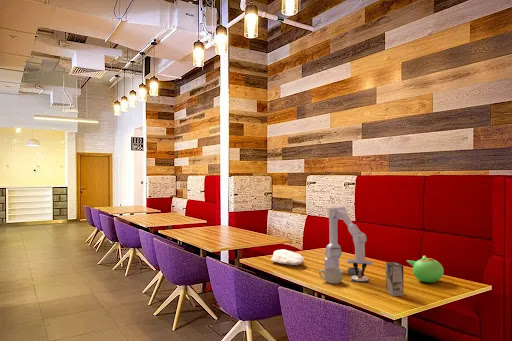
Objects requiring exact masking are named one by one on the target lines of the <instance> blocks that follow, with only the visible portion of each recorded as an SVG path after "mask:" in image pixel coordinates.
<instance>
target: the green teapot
mask: <svg viewBox="0 0 512 341" xmlns="http://www.w3.org/2000/svg"><path fill="white" fill-rule="evenodd" d="M406 263H408V264H409V265H411V266H412V274H413V275H414V277H415V278H416V279H417V280H419V281H421V282H423V283H435V282H438V281H440V280H441V279H442V278H443V276H444V271H445V270H444V267H443V265H442V264H441V263H440V262H439V261H437V260H436V259H434V258H431V257H430V258H428V257H427V256H426V255H423V256H422V258H420V259H417V260H416V261H415V260H410V259H409V260H408V259H407V260H406Z"/></svg>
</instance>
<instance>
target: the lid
mask: <svg viewBox="0 0 512 341" xmlns="http://www.w3.org/2000/svg"><path fill="white" fill-rule="evenodd" d="M352 279H353V280H356V281H368V280H369V281H370V278H369V277H368V276H366V275H364V276H363V277H362V269H361V270H358V276H356V275H355V276H354V275H351V280H352Z"/></svg>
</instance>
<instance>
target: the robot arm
mask: <svg viewBox="0 0 512 341" xmlns="http://www.w3.org/2000/svg"><path fill="white" fill-rule="evenodd" d="M340 219H342V221H343V223H345V225H346V226H347V230H348V232H349V234H350V235H351V237H352V241H353V243H354V244H353V245H354V259H347V264H352V267H354V268H355V271H356V276H358V268H359V265H361V271H362V277H363V276H365V275H364V274H365V270H366V268H367V266H368V265H369V266H373V261H370V260H366V250H365V249H366V248H365V247H366V246H365V245H366V244H365V243H366V242H367V241H368V239H367V235H366V234H365V233H364V232H362V231H361V230H360V229H359V227H358V225H357V224H355V223H353V221H352V220H351V218H350V216H349V214H348V210H347V209H346V207H345V206H332V207H330V208H329V209H328V222H329V223H328V225H329V230H328V231H329V233H328V234H329V240H328V241H329V243H328V244H327V245H325V246H326V247H325V253H324V254H325V256H326V257H325V258H324V261H323V262H324V265H323V266H324V270H325V269H326V268H339V269H340V258H341V256H342V250H341V245H340V244H339V243H338V241H339V237H338V221H339V220H340Z"/></svg>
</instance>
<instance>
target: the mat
mask: <svg viewBox="0 0 512 341" xmlns="http://www.w3.org/2000/svg"><path fill="white" fill-rule="evenodd" d="M369 281H370V279H369V280H368V281H356V280H353V279H352V278H351V279H350V283H357V284H358V283H361V284H369Z"/></svg>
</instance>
